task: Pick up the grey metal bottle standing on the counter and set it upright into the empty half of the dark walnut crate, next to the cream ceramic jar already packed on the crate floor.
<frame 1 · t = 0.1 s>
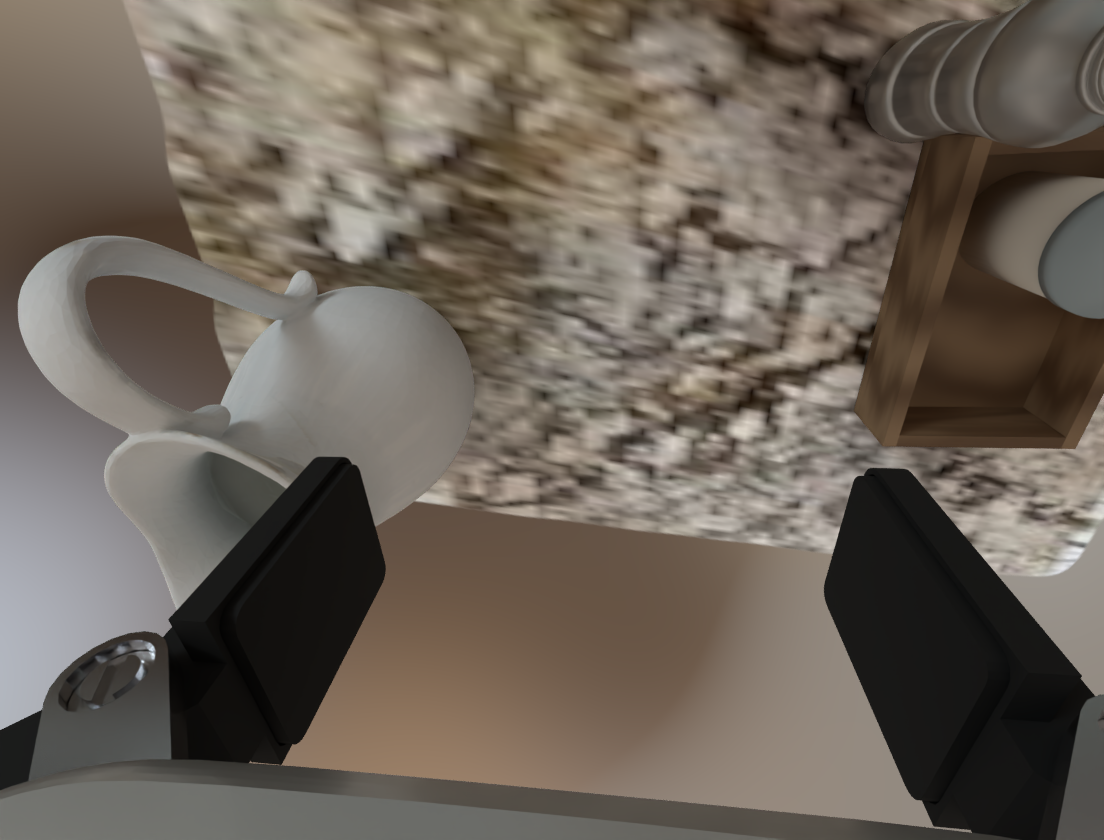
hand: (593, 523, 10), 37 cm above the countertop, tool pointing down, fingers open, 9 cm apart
pitcher: (391, 320, 48), on the countertop
jar: (1011, 224, 38), point 1 cm above the countertop, touching crate
grey metal bottle: (905, 86, 36), on the countertop
crate: (979, 288, 42), on the countertop
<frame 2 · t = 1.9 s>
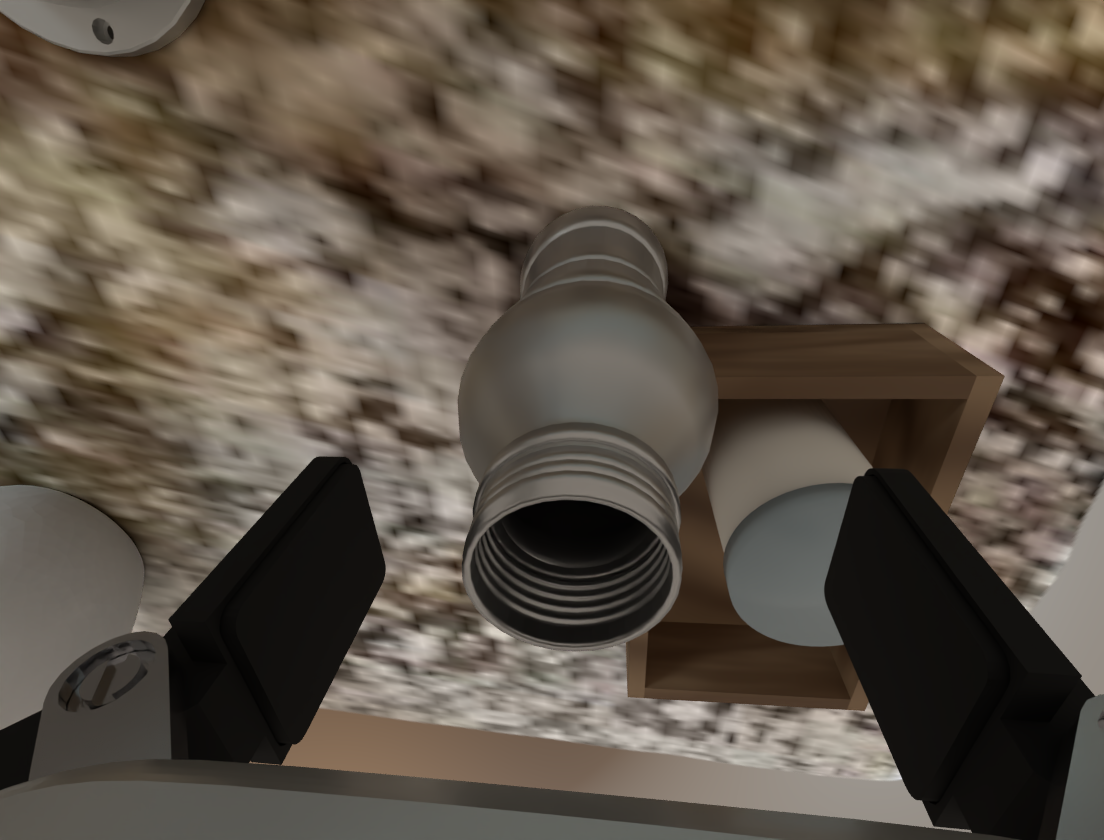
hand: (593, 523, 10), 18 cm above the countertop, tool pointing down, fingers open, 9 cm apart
pitcher: (41, 505, 38), on the countertop
jar: (762, 437, 28), point 1 cm above the countertop, touching crate
grey metal bottle: (594, 268, 26), on the countertop
crate: (745, 499, 32), on the countertop
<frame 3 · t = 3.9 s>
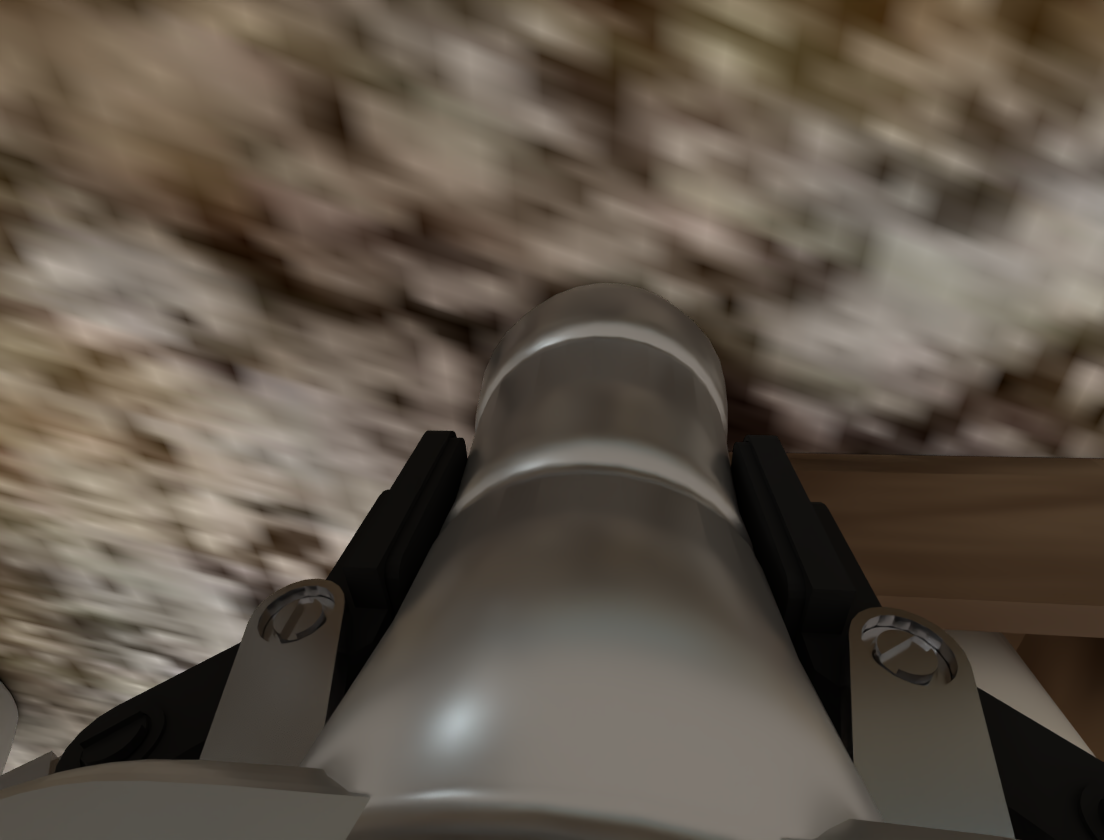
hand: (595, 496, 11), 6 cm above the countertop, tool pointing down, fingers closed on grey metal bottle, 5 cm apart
jar: (852, 609, 19), point 1 cm above the countertop, touching crate
grey metal bottle: (602, 366, 17), on the countertop, touching gripper
crate: (815, 672, 22), on the countertop
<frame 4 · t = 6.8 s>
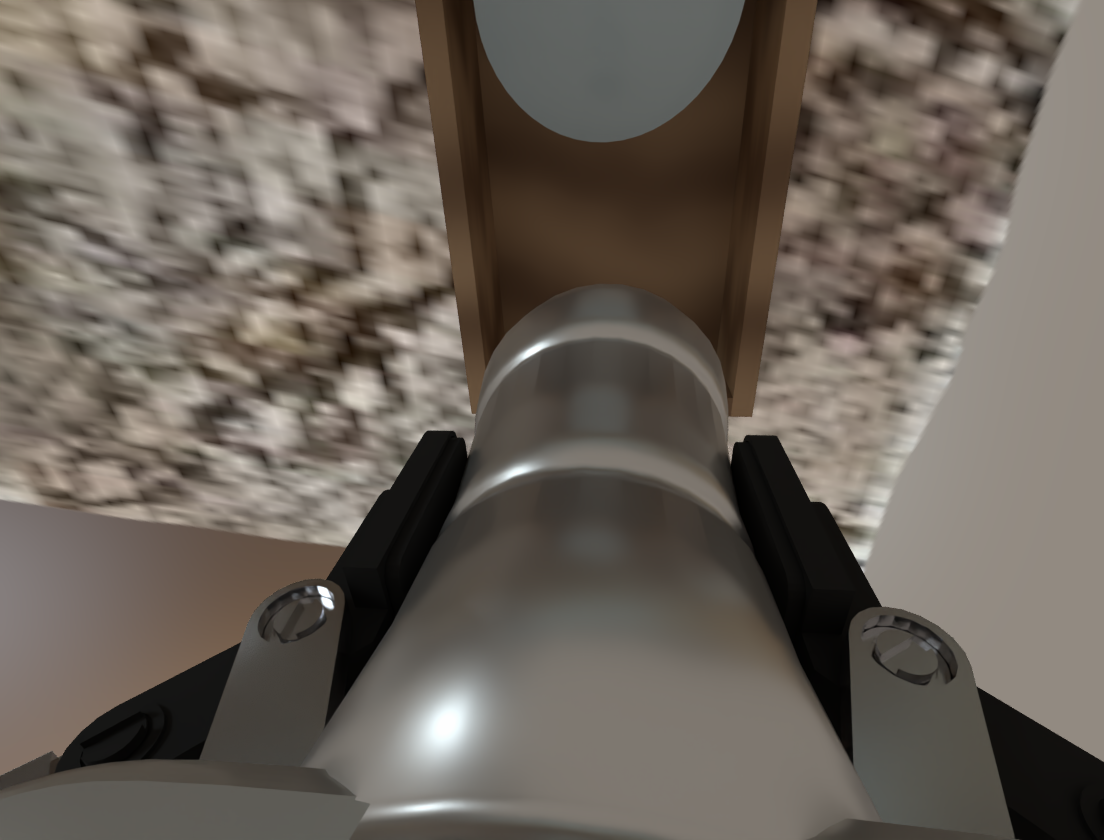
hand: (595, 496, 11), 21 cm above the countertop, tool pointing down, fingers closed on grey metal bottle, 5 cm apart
jar: (611, 39, 23), point 1 cm above the countertop, touching crate
grey metal bottle: (602, 367, 17), point 14 cm above the countertop, touching gripper
crate: (610, 164, 26), on the countertop
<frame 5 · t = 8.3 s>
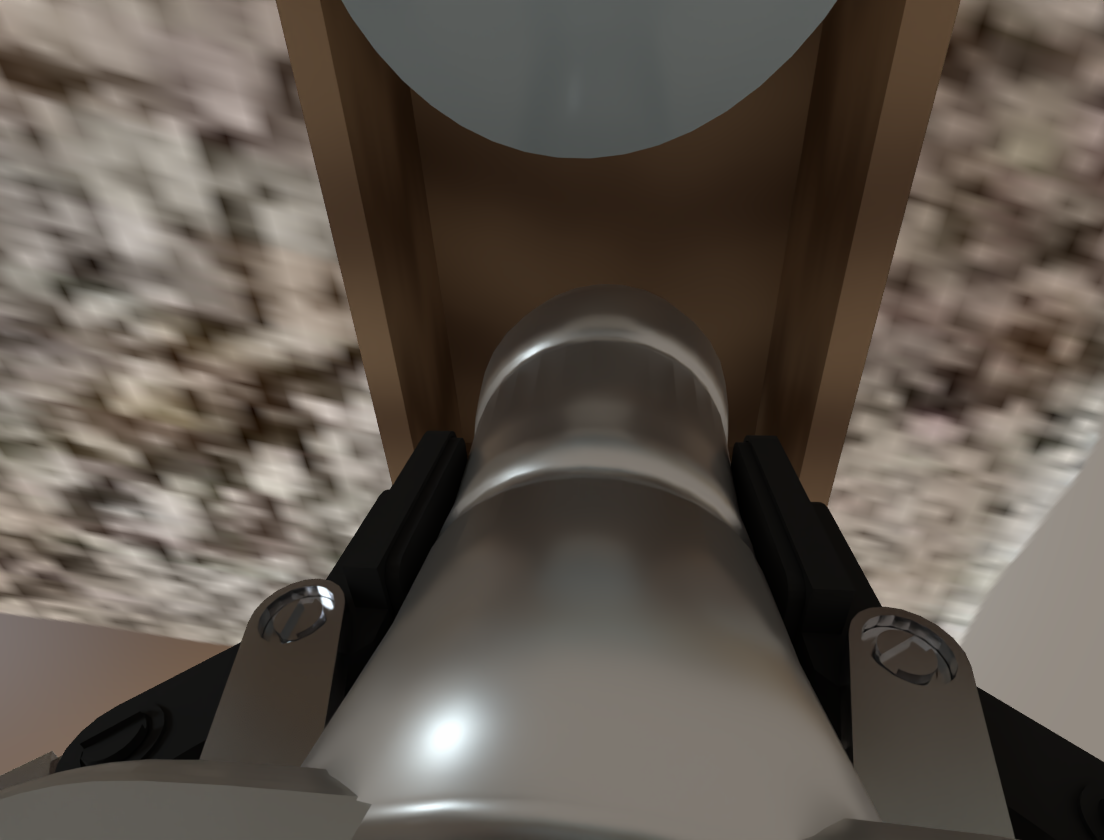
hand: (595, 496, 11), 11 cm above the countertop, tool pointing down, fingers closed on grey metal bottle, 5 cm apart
grey metal bottle: (603, 367, 17), point 4 cm above the countertop, touching gripper
crate: (604, 180, 18), on the countertop
when the fingers open (8 cm above the countertop, at t = 9.8 s): grey metal bottle stays where it is, resting on crate.
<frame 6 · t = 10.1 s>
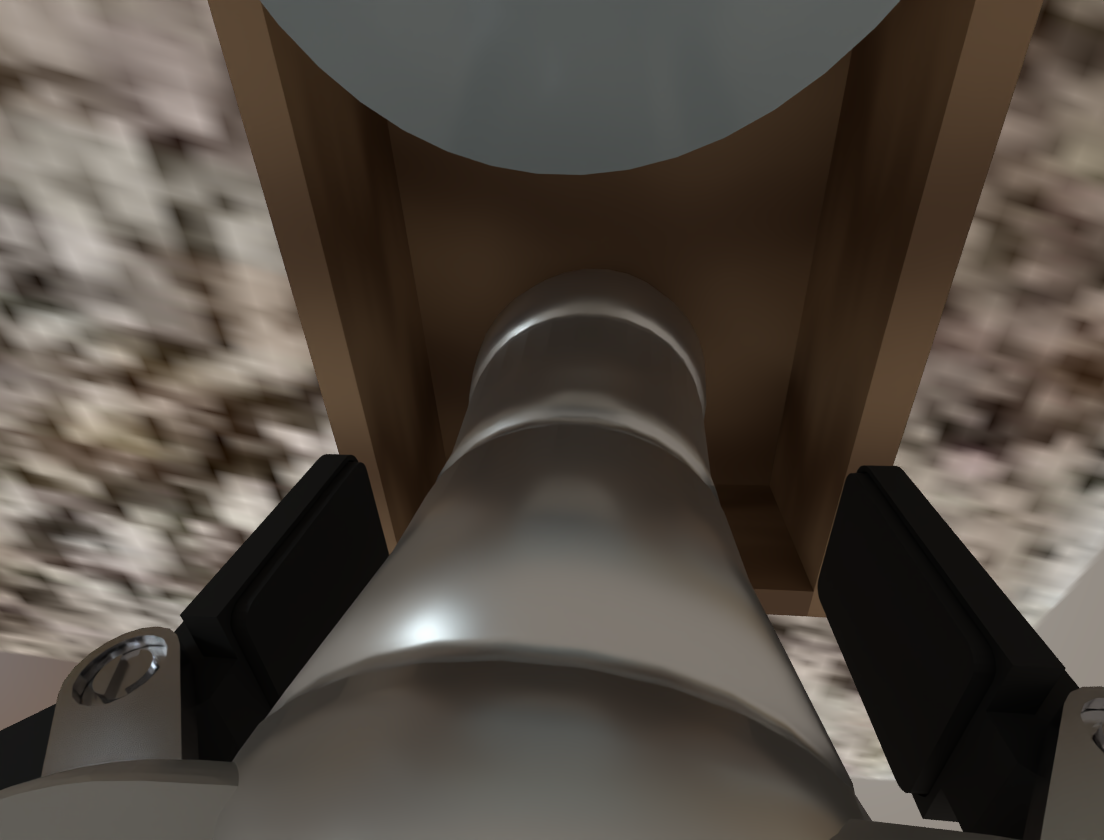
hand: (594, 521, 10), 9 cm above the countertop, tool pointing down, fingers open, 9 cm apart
grey metal bottle: (591, 350, 18), point 1 cm above the countertop, touching crate
crate: (604, 190, 16), on the countertop
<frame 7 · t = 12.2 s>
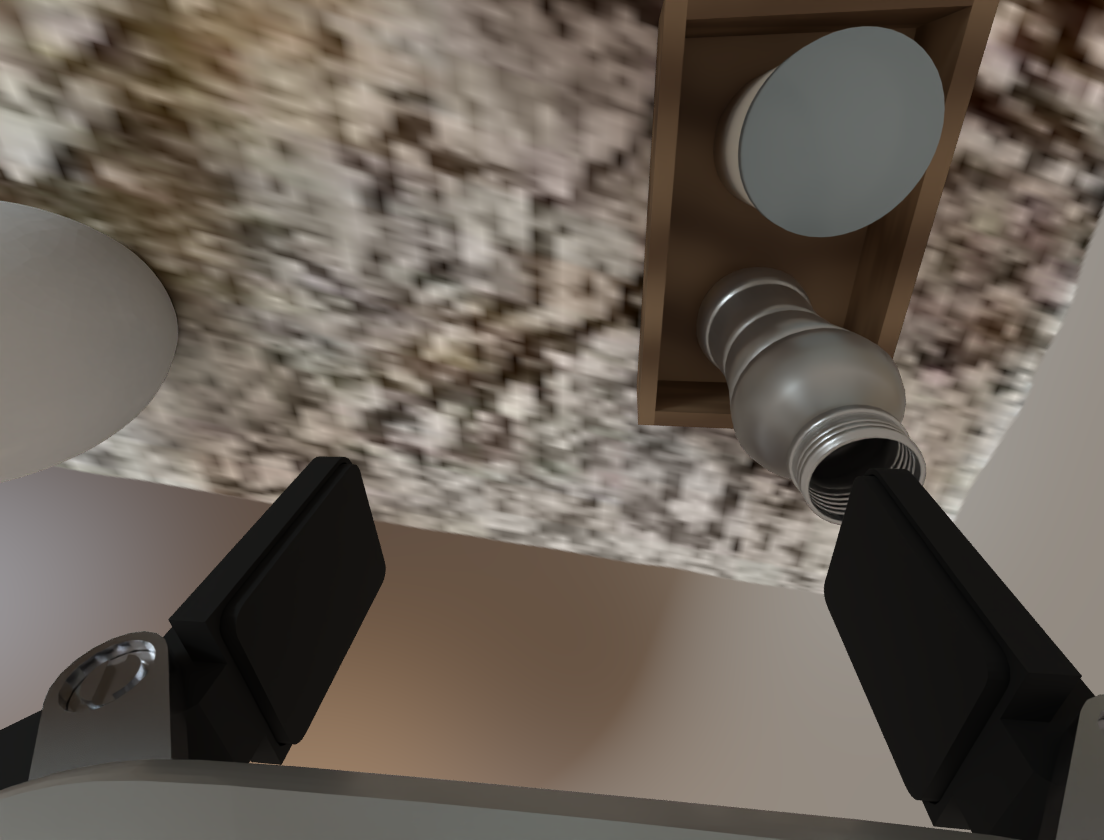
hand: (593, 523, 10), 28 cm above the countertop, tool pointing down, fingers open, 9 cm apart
pitcher: (87, 259, 40), on the countertop
jar: (776, 140, 30), point 1 cm above the countertop, touching crate
grey metal bottle: (743, 309, 35), point 1 cm above the countertop, touching crate
crate: (758, 230, 33), on the countertop
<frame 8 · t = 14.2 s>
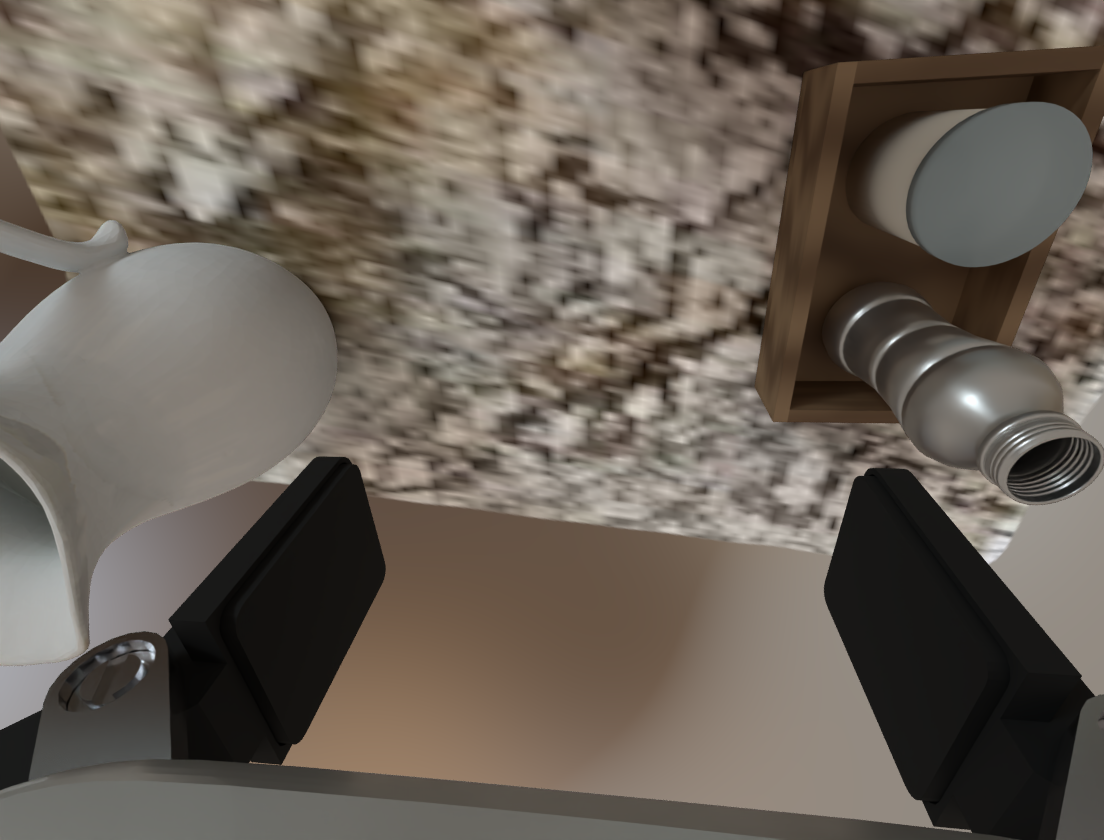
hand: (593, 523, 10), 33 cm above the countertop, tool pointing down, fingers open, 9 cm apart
pitcher: (255, 287, 45), on the countertop
jar: (903, 173, 35), point 1 cm above the countertop, touching crate
grey metal bottle: (859, 317, 39), point 1 cm above the countertop, touching crate
crate: (877, 248, 38), on the countertop
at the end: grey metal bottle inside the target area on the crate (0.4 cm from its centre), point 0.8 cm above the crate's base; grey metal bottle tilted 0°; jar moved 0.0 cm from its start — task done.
